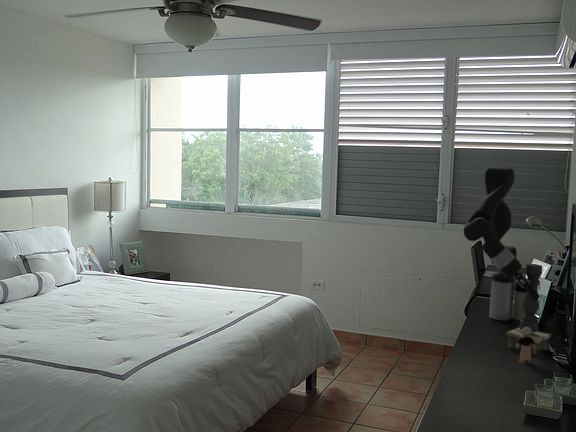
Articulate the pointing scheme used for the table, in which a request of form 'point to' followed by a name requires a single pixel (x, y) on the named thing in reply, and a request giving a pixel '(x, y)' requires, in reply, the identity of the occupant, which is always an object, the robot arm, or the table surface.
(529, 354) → the grandmother figurine
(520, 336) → the beige toy table
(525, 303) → the candle holder
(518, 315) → the travel mug
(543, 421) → the table surface
